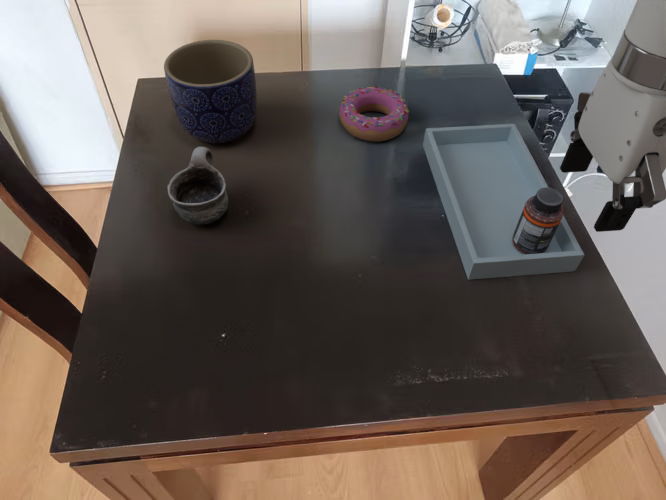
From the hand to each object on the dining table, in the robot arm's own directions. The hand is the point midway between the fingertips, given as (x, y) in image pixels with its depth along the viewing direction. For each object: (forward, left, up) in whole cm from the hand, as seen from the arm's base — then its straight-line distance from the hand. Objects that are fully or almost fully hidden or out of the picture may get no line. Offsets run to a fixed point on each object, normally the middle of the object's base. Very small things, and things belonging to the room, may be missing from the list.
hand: (589, 198), depth 61 cm
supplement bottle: (+7, -14, -26) cm, 30 cm away
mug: (+54, +18, -27) cm, 63 cm away
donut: (+48, -22, -27) cm, 59 cm away
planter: (+70, +1, -27) cm, 75 cm away
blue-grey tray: (+18, -19, -26) cm, 37 cm away
